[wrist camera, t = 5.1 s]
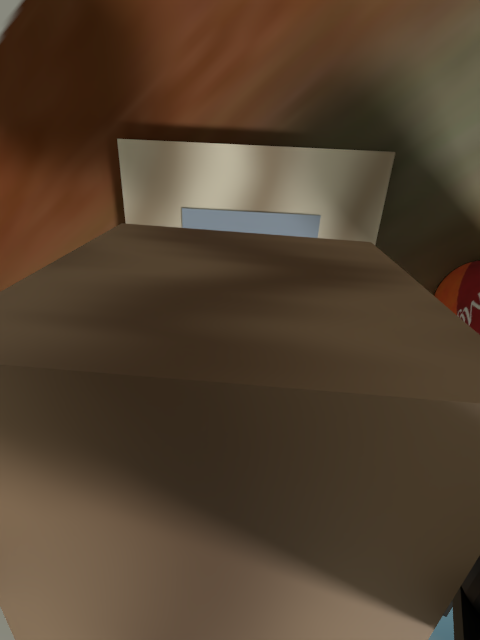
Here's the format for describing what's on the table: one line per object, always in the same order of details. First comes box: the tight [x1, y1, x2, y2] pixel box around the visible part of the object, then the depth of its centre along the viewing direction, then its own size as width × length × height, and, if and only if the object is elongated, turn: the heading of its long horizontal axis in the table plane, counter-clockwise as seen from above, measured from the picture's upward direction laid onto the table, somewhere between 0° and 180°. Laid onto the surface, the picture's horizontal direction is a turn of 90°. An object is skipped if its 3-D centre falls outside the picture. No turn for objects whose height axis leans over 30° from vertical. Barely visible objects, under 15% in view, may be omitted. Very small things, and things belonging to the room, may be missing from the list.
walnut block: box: [0, 223, 480, 640], centre depth 9 cm, size 8×8×8 cm
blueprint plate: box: [117, 139, 395, 245], centre depth 24 cm, size 16×16×1 cm
